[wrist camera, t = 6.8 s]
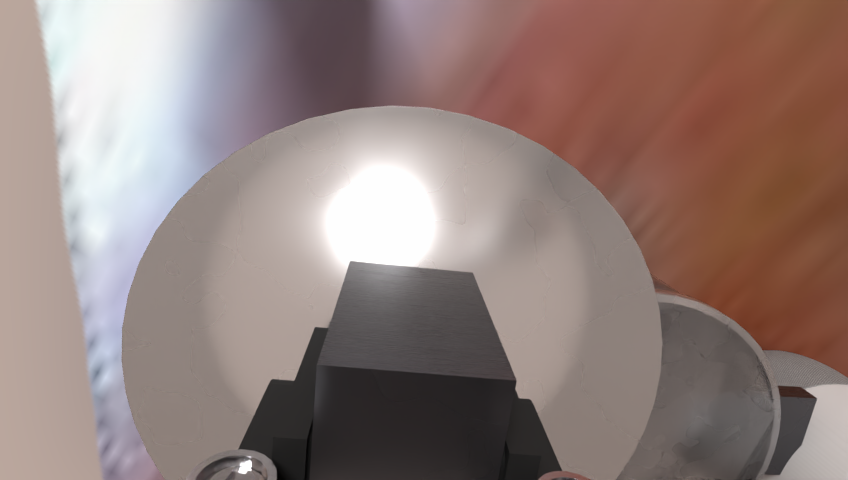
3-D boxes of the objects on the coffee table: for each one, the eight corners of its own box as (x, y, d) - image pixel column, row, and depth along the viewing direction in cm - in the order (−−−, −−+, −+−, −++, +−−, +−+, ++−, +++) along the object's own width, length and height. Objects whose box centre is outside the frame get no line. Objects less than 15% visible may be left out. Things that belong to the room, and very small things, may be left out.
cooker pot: (733, 248, 30) (871, 307, 21) (680, 452, 34) (778, 573, 25) (418, 226, 28) (427, 280, 20) (400, 442, 32) (401, 566, 24)
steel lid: (131, 71, 11) (-132, 44, 5) (699, 140, 12) (947, 174, 6) (151, 543, 14) (3, 806, 9) (587, 566, 15) (686, 816, 10)
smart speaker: (675, 348, 32) (882, 531, 18) (816, 322, 32) (1129, 486, 18) (679, 469, 34) (863, 709, 21) (810, 446, 34) (1079, 669, 21)
